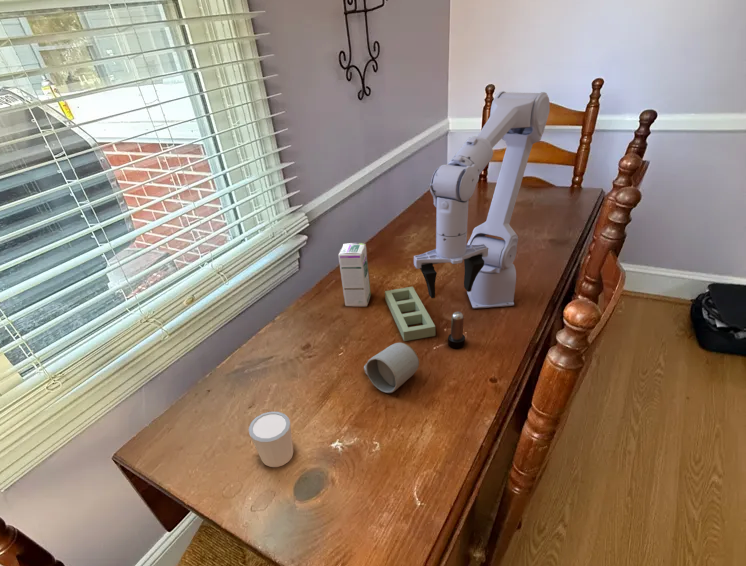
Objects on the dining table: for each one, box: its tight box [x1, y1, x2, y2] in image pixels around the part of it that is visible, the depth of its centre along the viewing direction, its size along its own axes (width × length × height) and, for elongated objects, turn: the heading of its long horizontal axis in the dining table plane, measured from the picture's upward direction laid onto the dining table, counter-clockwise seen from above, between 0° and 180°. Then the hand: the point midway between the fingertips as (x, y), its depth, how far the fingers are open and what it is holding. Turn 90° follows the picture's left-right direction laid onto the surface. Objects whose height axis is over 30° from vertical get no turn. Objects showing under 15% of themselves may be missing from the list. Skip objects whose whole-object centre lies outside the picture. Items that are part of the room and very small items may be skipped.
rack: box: [384, 286, 437, 342], centre depth 111 cm, size 7×18×2 cm, turn 8°
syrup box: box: [337, 242, 372, 307], centre depth 115 cm, size 6×6×14 cm
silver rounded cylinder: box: [447, 311, 466, 350], centre depth 99 cm, size 4×4×8 cm
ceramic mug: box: [363, 341, 420, 394], centre depth 92 cm, size 11×8×8 cm
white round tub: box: [248, 411, 294, 468], centre depth 80 cm, size 7×7×7 cm
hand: (449, 292), depth 98 cm, fingers open, 7 cm apart
